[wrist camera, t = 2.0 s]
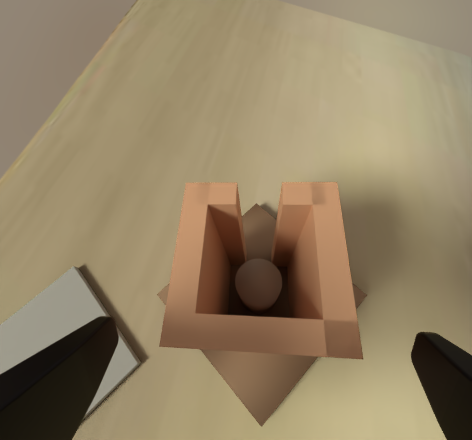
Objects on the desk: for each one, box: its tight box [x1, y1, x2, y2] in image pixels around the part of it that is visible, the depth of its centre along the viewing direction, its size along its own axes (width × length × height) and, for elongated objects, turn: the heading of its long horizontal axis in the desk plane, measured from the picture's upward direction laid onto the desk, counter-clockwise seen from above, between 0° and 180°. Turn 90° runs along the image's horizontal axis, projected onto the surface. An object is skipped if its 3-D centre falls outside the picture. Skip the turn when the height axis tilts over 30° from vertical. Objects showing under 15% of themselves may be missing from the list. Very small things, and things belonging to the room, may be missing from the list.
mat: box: [0, 266, 141, 421], centre depth 16 cm, size 9×9×1 cm
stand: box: [157, 203, 367, 427], centre depth 15 cm, size 10×10×5 cm
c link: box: [159, 182, 363, 359], centre depth 13 cm, size 6×6×9 cm
